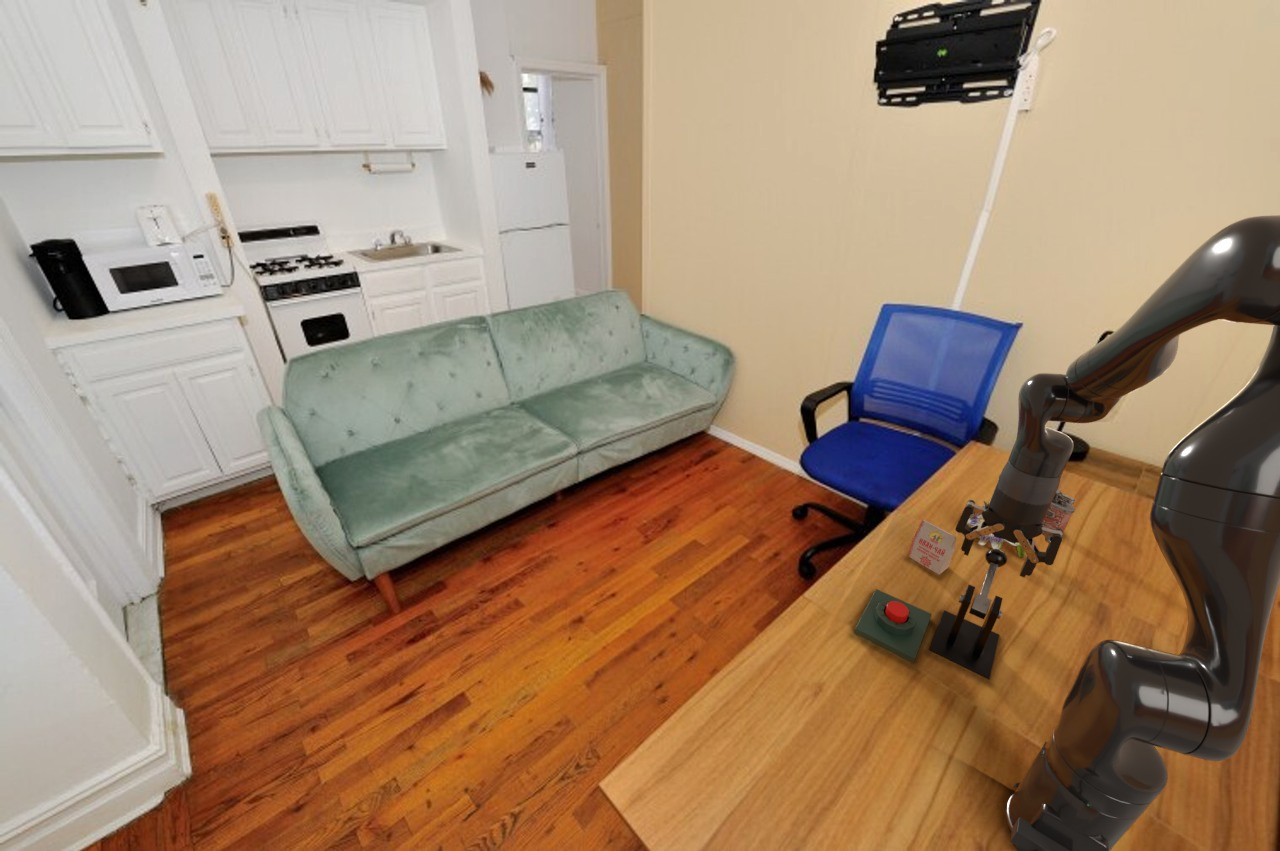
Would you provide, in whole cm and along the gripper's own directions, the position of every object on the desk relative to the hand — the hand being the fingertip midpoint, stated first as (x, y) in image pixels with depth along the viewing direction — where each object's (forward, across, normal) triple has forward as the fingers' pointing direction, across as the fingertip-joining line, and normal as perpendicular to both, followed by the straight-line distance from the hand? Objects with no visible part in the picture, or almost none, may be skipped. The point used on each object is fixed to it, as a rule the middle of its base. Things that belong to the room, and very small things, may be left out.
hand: (993, 563), depth 90 cm
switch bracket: (+13, 0, -9) cm, 16 cm away
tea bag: (+13, -10, +9) cm, 19 cm away
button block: (+13, -11, -13) cm, 21 cm away
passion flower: (+13, 0, +26) cm, 29 cm away
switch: (+2, 0, -4) cm, 4 cm away
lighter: (+13, +8, +39) cm, 42 cm away
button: (+9, -11, -13) cm, 19 cm away
